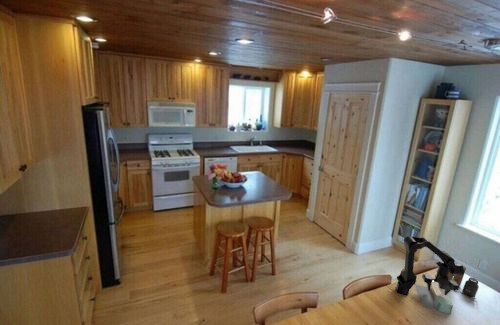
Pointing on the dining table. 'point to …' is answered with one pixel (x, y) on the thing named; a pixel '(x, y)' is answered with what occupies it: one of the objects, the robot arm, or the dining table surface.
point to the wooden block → (456, 276)
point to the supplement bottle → (470, 287)
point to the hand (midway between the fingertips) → (436, 292)
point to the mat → (425, 296)
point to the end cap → (443, 304)
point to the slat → (435, 290)
